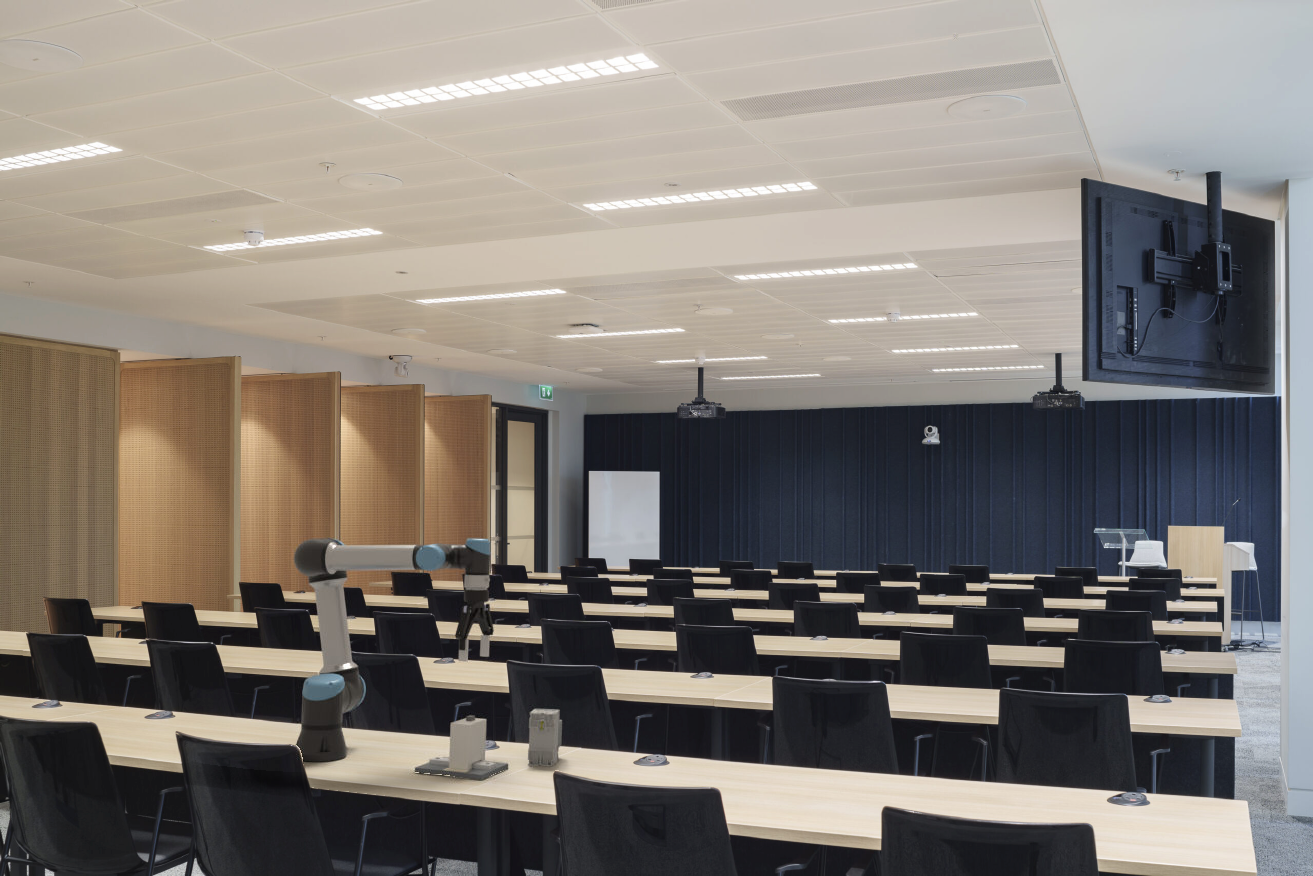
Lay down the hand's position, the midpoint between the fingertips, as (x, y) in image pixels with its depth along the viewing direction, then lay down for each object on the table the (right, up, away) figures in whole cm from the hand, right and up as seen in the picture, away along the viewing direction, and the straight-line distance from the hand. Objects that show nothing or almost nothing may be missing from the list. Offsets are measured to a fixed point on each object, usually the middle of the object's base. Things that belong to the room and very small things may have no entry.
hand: (473, 658), depth 335 cm
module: (+2, -25, -25) cm, 35 cm away
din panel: (+1, -27, -24) cm, 36 cm away
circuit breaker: (+23, -29, -8) cm, 38 cm away
